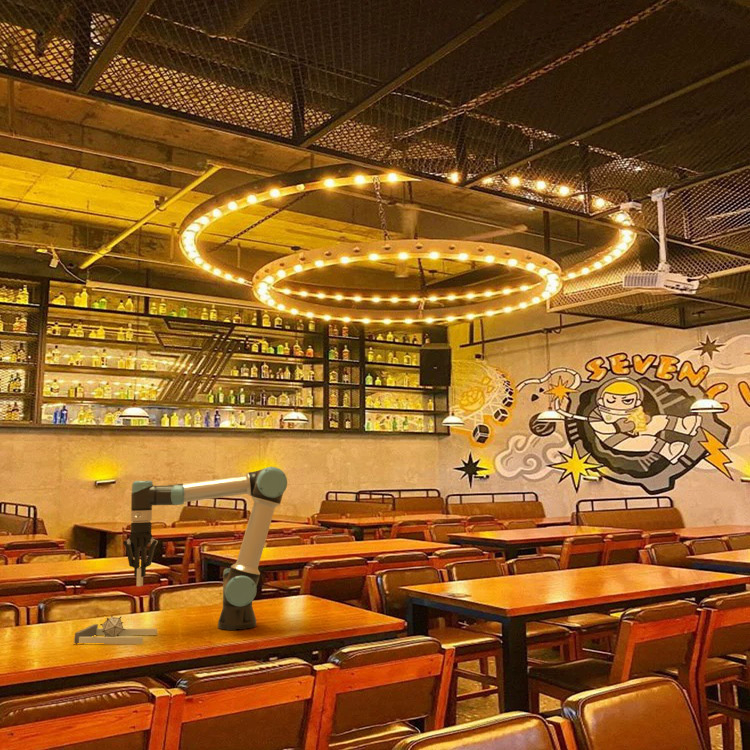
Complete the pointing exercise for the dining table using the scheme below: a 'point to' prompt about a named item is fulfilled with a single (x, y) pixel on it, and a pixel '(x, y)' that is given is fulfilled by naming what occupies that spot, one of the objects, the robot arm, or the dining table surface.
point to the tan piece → (92, 630)
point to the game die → (112, 626)
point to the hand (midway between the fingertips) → (139, 585)
